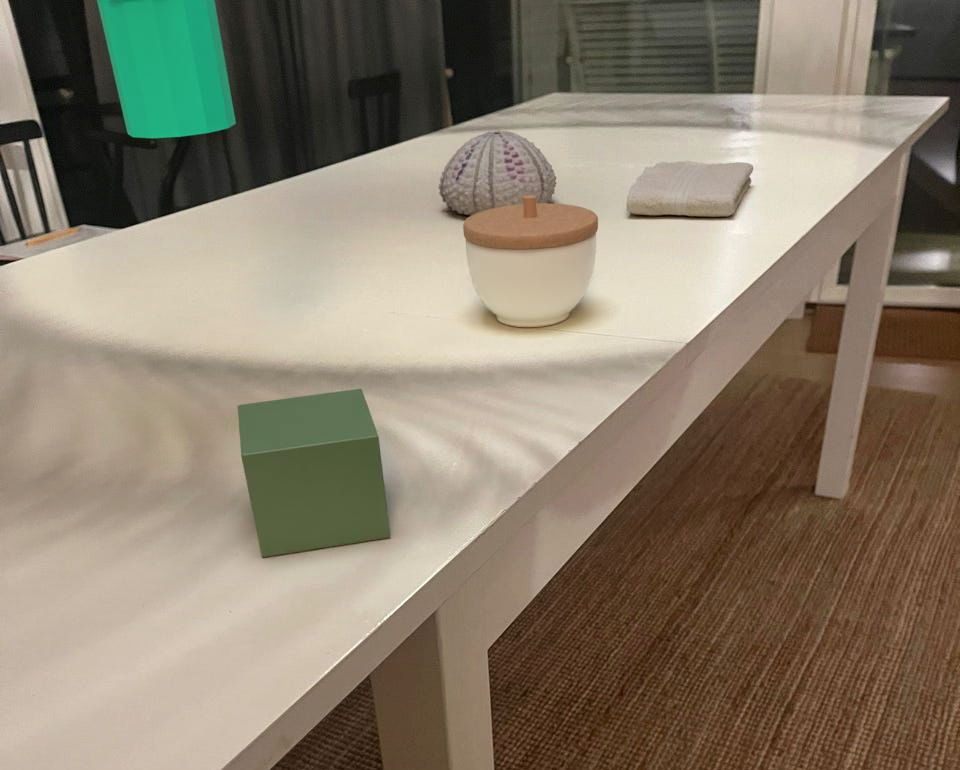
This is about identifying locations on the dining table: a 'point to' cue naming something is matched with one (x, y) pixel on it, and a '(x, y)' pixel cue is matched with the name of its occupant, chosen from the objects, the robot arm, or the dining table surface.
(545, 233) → the trinket box
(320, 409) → the block
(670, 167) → the washcloth
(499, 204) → the sea urchin shell
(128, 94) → the candle
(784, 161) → the dining table surface
